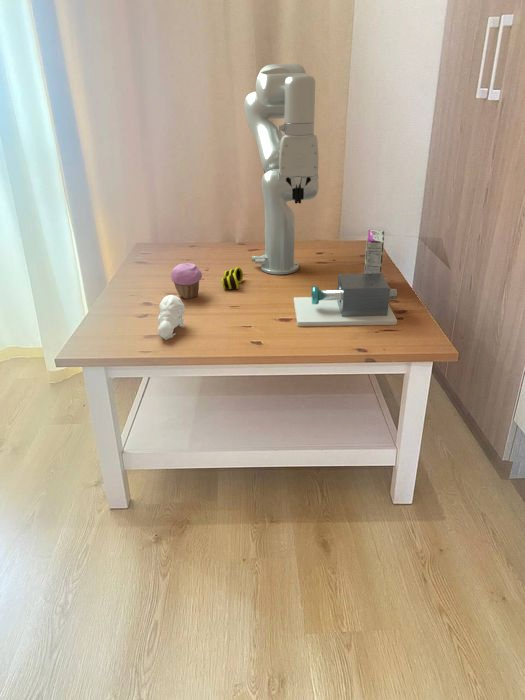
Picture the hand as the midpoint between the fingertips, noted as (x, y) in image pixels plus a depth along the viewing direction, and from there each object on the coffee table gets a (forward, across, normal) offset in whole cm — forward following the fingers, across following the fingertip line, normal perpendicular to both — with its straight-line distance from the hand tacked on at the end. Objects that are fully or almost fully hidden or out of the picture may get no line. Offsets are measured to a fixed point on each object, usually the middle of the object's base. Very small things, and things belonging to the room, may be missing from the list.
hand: (297, 202), depth 146 cm
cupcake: (+27, -32, 0) cm, 42 cm away
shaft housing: (+26, +17, -13) cm, 34 cm away
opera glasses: (+28, -19, +8) cm, 35 cm away
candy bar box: (+27, +23, +4) cm, 36 cm away
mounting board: (+27, +12, -13) cm, 32 cm away
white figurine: (+27, -34, -23) cm, 49 cm away
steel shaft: (+24, +15, -13) cm, 31 cm away
